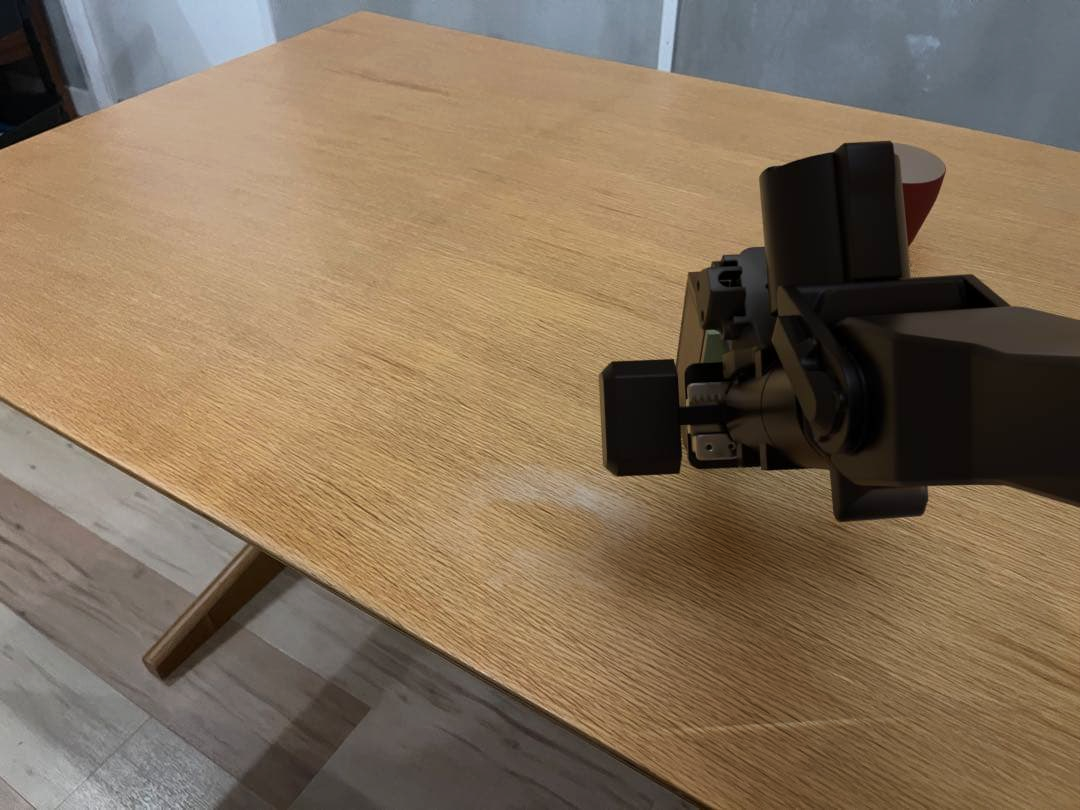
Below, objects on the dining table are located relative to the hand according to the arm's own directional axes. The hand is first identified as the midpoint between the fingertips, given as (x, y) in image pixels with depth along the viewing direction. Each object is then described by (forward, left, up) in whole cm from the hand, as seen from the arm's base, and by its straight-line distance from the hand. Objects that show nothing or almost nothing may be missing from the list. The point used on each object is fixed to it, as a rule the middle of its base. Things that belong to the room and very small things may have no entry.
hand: (731, 416), depth 53 cm
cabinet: (+8, -3, -7) cm, 11 cm away
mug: (+33, -9, -7) cm, 35 cm away
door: (+1, -2, -6) cm, 7 cm away
